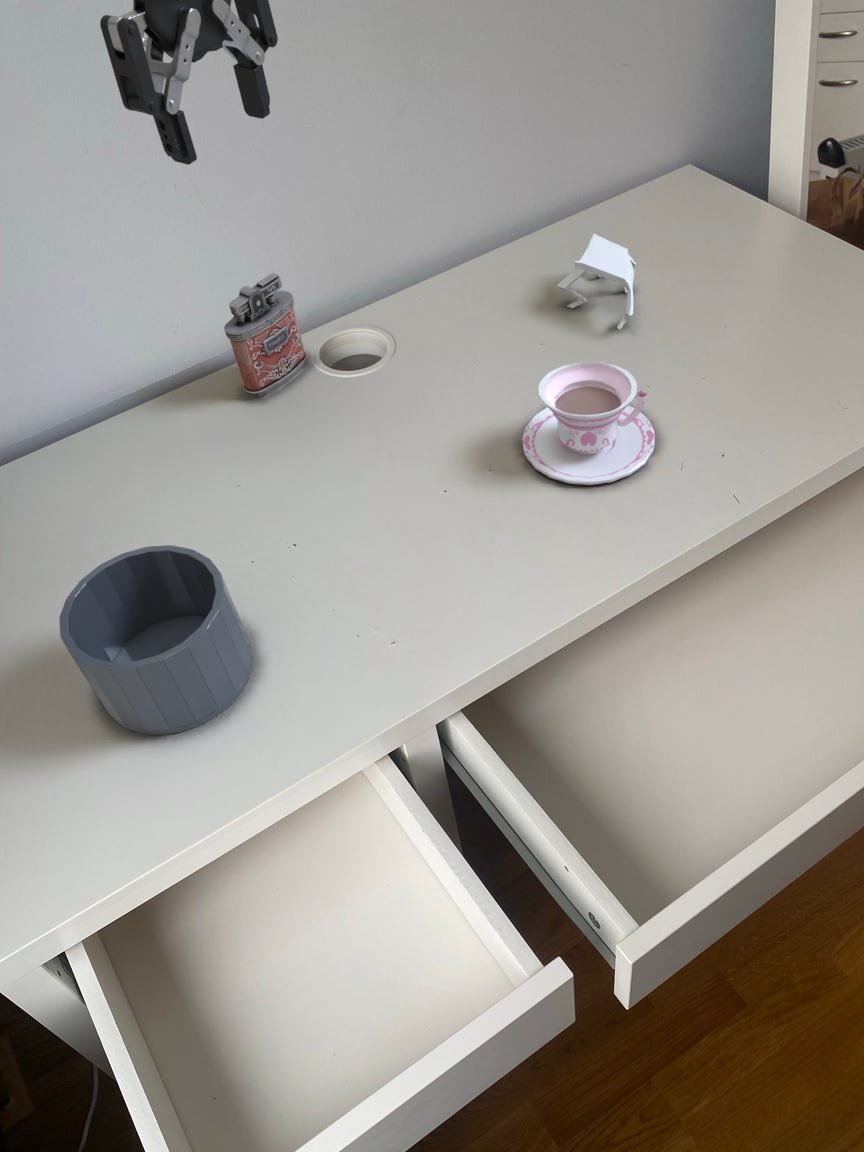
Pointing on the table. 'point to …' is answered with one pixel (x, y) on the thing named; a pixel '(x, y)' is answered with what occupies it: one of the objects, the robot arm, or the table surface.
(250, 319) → the lighter
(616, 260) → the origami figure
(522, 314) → the table surface
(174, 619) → the blue-grey round bin
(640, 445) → the teacup
